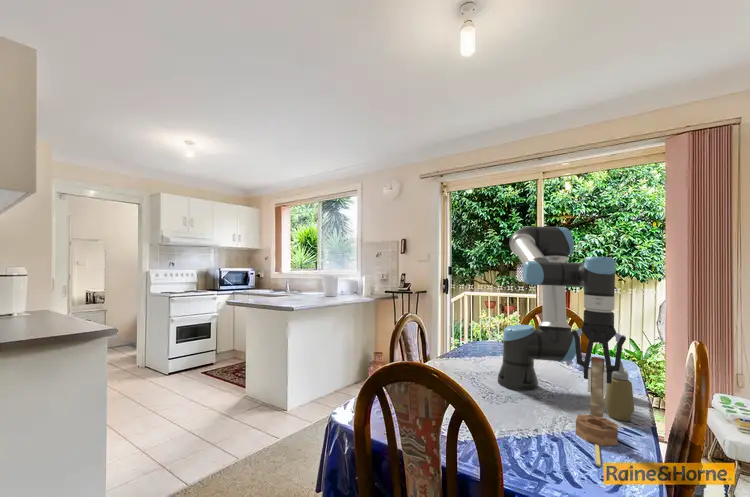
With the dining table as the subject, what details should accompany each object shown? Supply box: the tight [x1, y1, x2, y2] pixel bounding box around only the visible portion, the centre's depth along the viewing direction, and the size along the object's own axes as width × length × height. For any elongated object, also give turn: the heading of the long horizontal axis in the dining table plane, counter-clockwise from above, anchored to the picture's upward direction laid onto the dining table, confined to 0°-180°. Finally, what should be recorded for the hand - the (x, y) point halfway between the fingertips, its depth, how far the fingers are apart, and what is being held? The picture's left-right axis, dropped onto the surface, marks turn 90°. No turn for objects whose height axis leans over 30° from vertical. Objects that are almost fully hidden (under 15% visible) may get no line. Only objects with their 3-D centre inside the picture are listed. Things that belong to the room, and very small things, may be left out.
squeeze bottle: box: [604, 361, 635, 422], centre depth 118 cm, size 8×8×18 cm
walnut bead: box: [575, 414, 619, 447], centre depth 104 cm, size 10×10×4 cm
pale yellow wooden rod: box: [594, 443, 601, 468], centre depth 93 cm, size 11×1×1 cm, turn 150°
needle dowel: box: [589, 356, 605, 418], centre depth 104 cm, size 3×3×16 cm
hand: (597, 392), depth 104 cm, fingers closed on needle dowel, 3 cm apart
